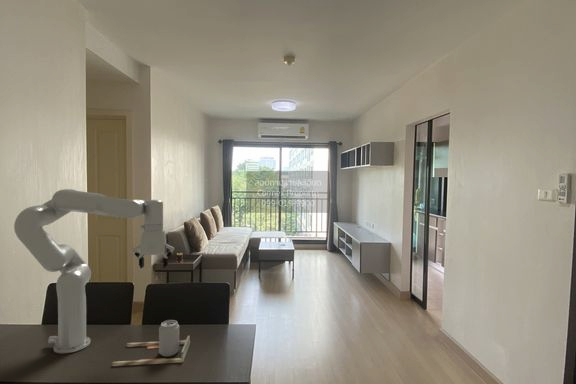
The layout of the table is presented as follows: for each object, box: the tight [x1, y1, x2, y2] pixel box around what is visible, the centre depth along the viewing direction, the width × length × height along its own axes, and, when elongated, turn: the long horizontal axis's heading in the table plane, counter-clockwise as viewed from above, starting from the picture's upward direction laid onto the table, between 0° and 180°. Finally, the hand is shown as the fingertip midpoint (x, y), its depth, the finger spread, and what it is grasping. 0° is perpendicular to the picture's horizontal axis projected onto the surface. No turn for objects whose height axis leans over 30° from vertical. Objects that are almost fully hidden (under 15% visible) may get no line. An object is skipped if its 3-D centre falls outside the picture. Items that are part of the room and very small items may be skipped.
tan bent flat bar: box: [111, 335, 191, 367], centre depth 127 cm, size 25×15×4 cm, turn 97°
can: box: [158, 319, 180, 358], centre depth 128 cm, size 8×8×12 cm
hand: (153, 267), depth 141 cm, fingers open, 9 cm apart
